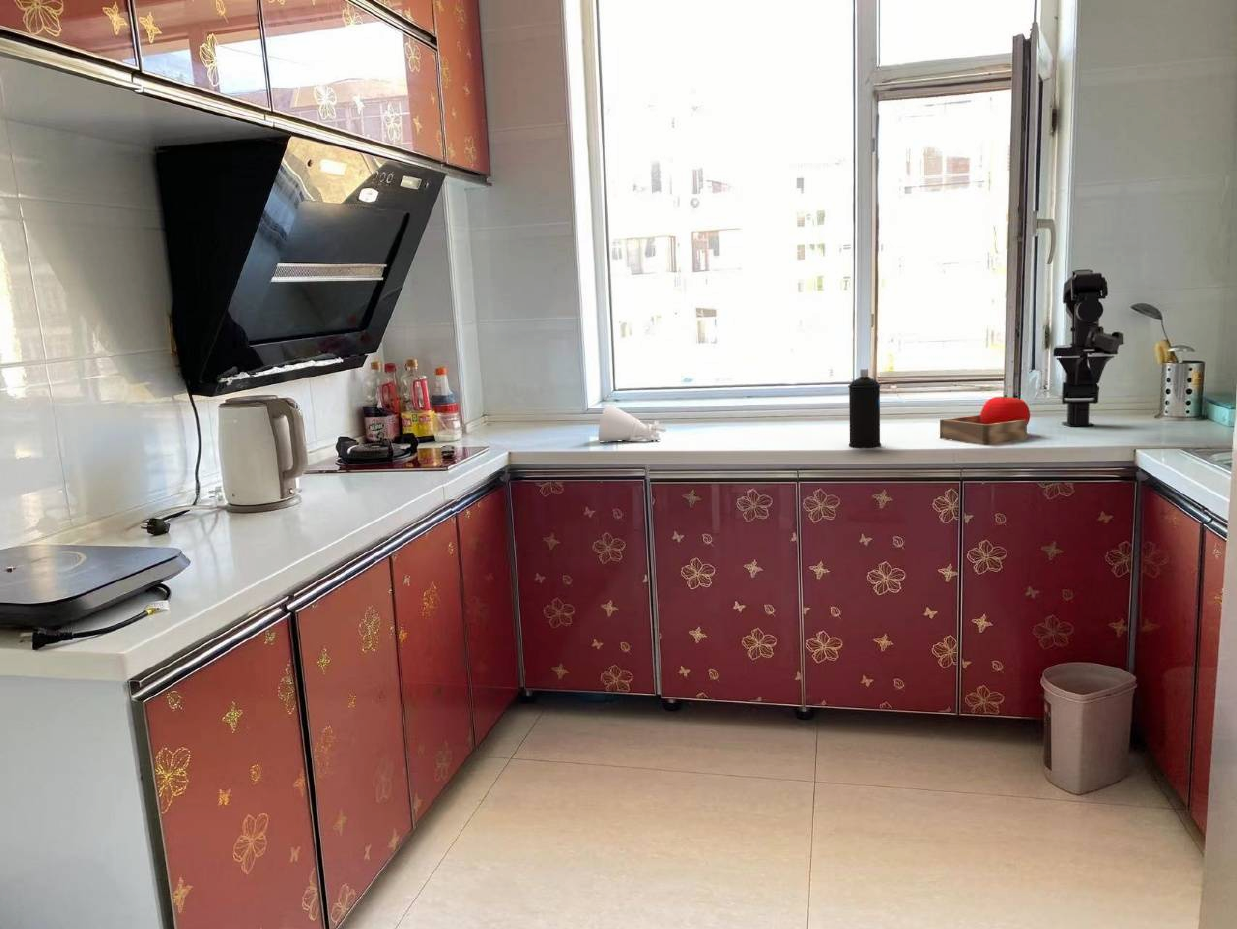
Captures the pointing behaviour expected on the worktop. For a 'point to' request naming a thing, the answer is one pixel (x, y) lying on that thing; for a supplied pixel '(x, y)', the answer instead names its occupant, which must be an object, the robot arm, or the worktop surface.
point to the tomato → (1004, 410)
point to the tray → (982, 430)
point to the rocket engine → (625, 426)
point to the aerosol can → (864, 411)
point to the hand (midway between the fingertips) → (1085, 383)
